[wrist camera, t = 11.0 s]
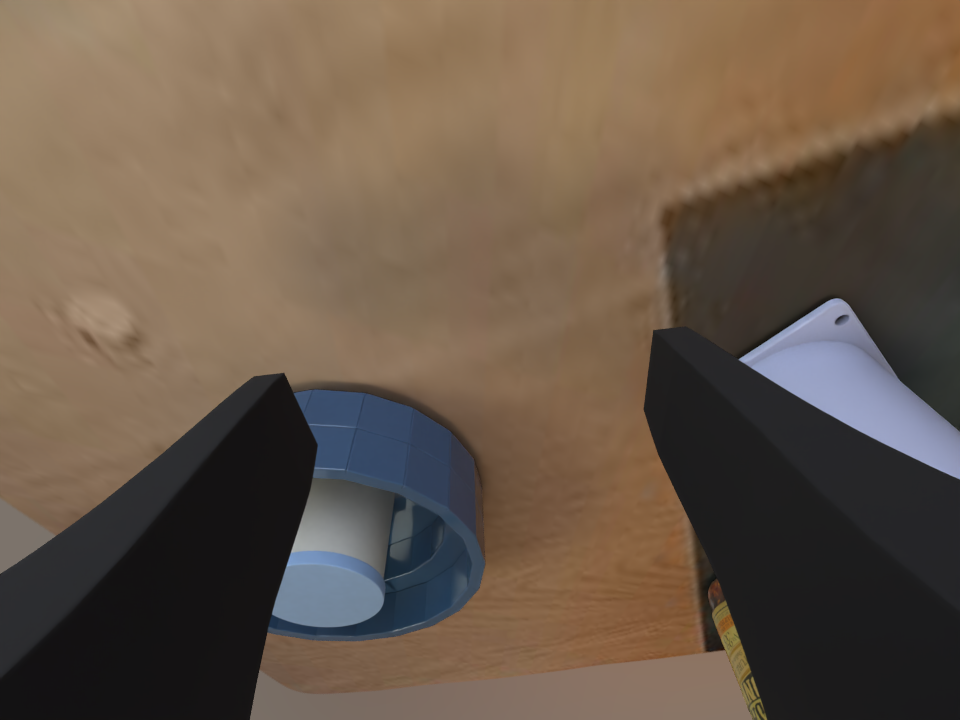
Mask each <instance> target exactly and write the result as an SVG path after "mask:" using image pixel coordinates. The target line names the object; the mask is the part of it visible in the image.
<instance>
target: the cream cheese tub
mask: <svg viewBox="0 0 960 720" xmlns="http://www.w3.org/2000/svg"><path fill="white" fill-rule="evenodd" d="M394 498H395V493H393V492H389V491H385V490H382V489H378V488H374V487H370V486H366V485H362V484H358V483H354V482H350V481H347V480H336V479H318V478H313V479H312V484H311V489H310V493H309V496H308V500H307V503H306V506H305V510H304V513H303V516H302V519H301V523H300V526H299V529H298V532H297V535H296V538H295V541H294V545H293V548H292V551H291V554H290V557H289V560H288V563H287V566H286V570H285V573H284V576H283V579H282V582H281V585H280V588H279V591H278V595H277V598H276V601H275V605H274V608H273V612H272V615H274V616H276V617H278V618H281V619H283V620H286V621H289V622H292V623H296V624H301V625H306V626H314V627H341V626H348V625H353V624H357V623H360V622H363V621H365V620H367V619H369V618H371V617H373V616H374V615H376V614H377V613H378V612H379V611H380V609H381V608H382V606H383V603H384V597H385V589H386V586H385V582H384V572H385V564H386V557H387V550H388V542H389V535H390V528H391V520H392V513H393V505H394Z"/></svg>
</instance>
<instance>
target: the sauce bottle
mask: <svg viewBox="0 0 960 720" xmlns="http://www.w3.org/2000/svg"><path fill="white" fill-rule="evenodd" d="M708 598H709V604H710V607H711V609H712V617H713V620H714V623H715V625H716V628H717V630H718V633H719V635H720V638H721V641H722V643H723V646H724V648H725V651H726V653H727V656H728V658H729V661H730V663H731V666H732V668H733V671H734V673H735V676H736V678H737V681H738V683H739V686H740V688H741V691H742V694H743V697H744V699H745V702H746V704H747V707H748V710H749V712H750V714H751V716H752V719H753V720H767V718H766V715H765V711H764V708H763V705H762V702H761V699H760V696H759V693H758V691H757V688H756V685H755V682H754V679H753V676H752V673H751V670H750V667H749V665H748V662H747V659H746V656H745V653H744V650H743V647H742V644H741V641H740V639H739V636H738V633H737V631H736V628H735V625H734V622H733V620H732V617H731V614H730V611H729V609H728V606H727V603H726V601H725V598H724V595H723V592H722V590H721V587H720V584H719V582H718V580H717V578H716V579H715V580H714V581H713V582H712V583H711V585H710V587H709V590H708Z"/></svg>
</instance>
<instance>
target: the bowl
mask: <svg viewBox="0 0 960 720" xmlns="http://www.w3.org/2000/svg"><path fill="white" fill-rule="evenodd" d="M294 395H295V397H296V399H297V401H298V404H299V406H300V408H301V410H302V412H303V414H304V416H305V418H306V421H307V423H308V425H309V427H310V429H311V431H312V433H313V435H314V438H315V440H316V442H317V444H318V447H317V454H316V461H315V467H314V473H313V478H318V479H336V480H347V481H350V482H354V483H358V484H362V485H366V486H370V487H374V488H378V489H382V490H385V491H389V492H393V493H395V498H394V505H393V513H392V520H391V528H390V535H389V542H388V550H387V557H386V564H385V572H384V582H385V586H386V589H385V597H384V603H383V606H382V608H381V609H380V611H379V612H378V613H377V614H376V615H374V616H373V617H371V618H369V619H367V620H365V621H363V622H360V623H357V624H353V625H348V626H341V627H314V626H306V625H301V624H296V623H292V622H289V621H286V620H283V619H281V618H278V617H276V616H274V615H272V616H271V619H270V623H269V627H268V631H267V632H268V633H271V634H277V635H283V636H289V637H296V638H302V639H308V640H318V641H364V640H372V639H380V638H388V637H396V636H400V635H403V634H407V633H410V632H413V631H417V630H420V629H423V628H427V627H430V626H433V625H435V624H437V623H439V622H440V621H442V620H444V619H446V618H447V617H449V616H451V615H453V614H455V613H456V612H458V611H460V610H461V609H462V608H463V606H464V605H465V604H466V603H467V602H468V601H469V600H470V599H471V598H472V596H473V595H474V594H475V593H476V592H477V591H478V590H479V588H480V584H481V580H482V576H483V572H484V568H485V542H484V522H483V521H484V519H483V497H482V484H481V481H480V478H479V474H478V471H477V467H476V464H475V461H474V459H473V457H472V456H471V455H470V454H469V452H468V451H467V450H466V449H465V448H464V446H463V445H462V444H461V443H460V442H459V441H458V439H457V438H456V437H455V436H454V435H453V433H452V432H450V430H448V429H446V428H445V427H443V426H442V425H440V424H438V423H437V422H435V421H434V420H432V419H430V418H429V417H427V416H426V415H424V414H422V413H421V412H419V411H417V410H416V409H413V408H412V407H409V406H406V405H403V404H400V403H397V402H393V401H390V400H387V399H384V398H381V397H377V396H374V395H371V394H368V393H366V394H365V393H360V392H347V391H333V390H319V389H314V390H306V391H300V392H294Z"/></svg>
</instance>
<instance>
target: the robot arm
mask: <svg viewBox="0 0 960 720" xmlns="http://www.w3.org/2000/svg"><path fill="white" fill-rule="evenodd" d="M840 316H841V317H840ZM838 317H840V318H839V319H837V318H838ZM836 319H837V320H836ZM644 412H645V415H646V418H647V422H648V425H649V428H650V431H651V434H652V437H653V440H654V443H655V446H656V449H657V452H658V455H659V457H660V459H661V461H662V463H663V466H664V468H665V470H666V472H667V474H668V476H669V478H670V480H671V482H672V485H673V487H674V489H675V491H676V493H677V495H678V497H679V499H680V501H681V503H682V505H683V507H684V509H685V511H686V514H687V516H688V518H689V520H690V522H691V524H692V526H693V528H694V530H695V532H696V534H697V536H698V538H699V540H700V542H701V545H702V547H703V549H704V551H705V553H706V555H707V557H708V559H709V561H710V564H711V566H712V568H713V571H714V573H715V575H716V577H717V580H718V582H719V584H720V587H721V590H722V592H723V595H724V598H725V601H726V603H727V606H728V609H729V611H730V614H731V617H732V620H733V622H734V625H735V628H736V631H737V633H738V636H739V639H740V641H741V644H742V647H743V650H744V653H745V656H746V659H747V662H748V665H749V667H750V670H751V673H752V676H753V679H754V682H755V685H756V688H757V691H758V693H759V696H760V699H761V702H762V705H763V708H764V711H765V715H766V718H767V720H960V432H959V431H958V430H957V429H956V428H955V427H954V426H952V425H951V424H950V423H949V422H948V421H947V420H945V419H944V418H943V417H942V416H941V415H939V414H938V413H937V412H936V411H935V410H934V409H932V408H931V407H930V406H929V405H928V404H927V403H925V402H924V401H923V400H922V399H921V398H919V397H918V396H917V395H916V394H915V393H914V392H912V391H911V390H910V389H909V388H908V387H907V386H905V385H904V384H903V383H902V382H901V381H900V380H899V379H898V377H897V376H896V374H895V373H894V371H893V370H892V368H891V367H890V365H889V364H888V362H887V361H886V359H885V358H884V356H883V355H882V353H881V352H880V350H879V349H878V347H877V346H876V344H875V343H874V342H873V340H872V339H871V337H870V336H869V334H868V333H867V331H866V330H865V328H864V327H863V325H862V324H861V322H860V321H859V319H858V318H857V316H856V315H855V313H854V312H853V310H852V309H851V307H850V306H849V305H848V304H847V303H846V302H845V301H843V300H842V299H838V298H836V299H831V300H829V301H827V302H826V303H824V304H823V305H821V306H820V307H818V308H816V309H815V310H813V311H812V312H810V313H809V314H807V315H806V316H804V317H803V318H801V319H800V320H798V321H797V322H795V323H794V324H792V325H790V326H789V327H787V328H786V329H784V330H783V331H781V332H780V333H778V334H777V335H775V336H774V337H772V338H771V339H769V340H768V341H766V342H764V343H763V344H761V345H760V346H758V347H757V348H755V349H754V350H752V351H751V352H749V353H748V354H746V355H745V356H743V357H742V358H740V359H737V358H735V357H734V356H732V355H731V354H729V353H728V352H726V351H725V350H723V349H721V348H720V347H718V346H717V345H715V344H714V343H712V342H711V341H709V340H708V339H706V338H704V337H703V336H701V335H700V334H698V333H696V332H695V331H693V330H691V329H689V328H688V327H678V328H669V329H660V330H653V338H652V346H651V354H650V362H649V371H648V379H647V387H646V395H645V403H644ZM317 447H318V444H317V442H316V440H315V438H314V435H313V433H312V431H311V429H310V427H309V425H308V423H307V421H306V418H305V416H304V414H303V412H302V410H301V408H300V406H299V404H298V401H297V399H296V397H295V395H294V393H293V391H292V389H291V387H290V385H289V382H288V380H287V378H286V376H285V374H284V373H280V374H271V375H263V376H254V377H253V378H251V379H250V380H249V381H247V382H246V383H245V384H243V385H242V386H241V387H240V388H238V389H237V390H236V391H235V392H234V393H232V394H231V395H230V396H229V397H228V398H226V399H225V400H224V401H223V402H222V403H221V404H219V405H218V406H217V407H216V408H215V409H214V410H212V411H211V412H210V413H209V414H208V415H207V416H206V417H204V418H203V419H202V420H201V421H200V422H199V423H197V424H196V425H195V426H194V427H193V428H192V429H190V430H189V431H188V432H187V433H186V434H185V435H184V436H182V437H181V438H180V439H179V440H178V441H177V442H175V443H174V444H173V445H172V446H171V447H170V448H168V449H167V450H166V451H165V452H164V453H163V454H161V455H160V456H159V457H158V458H157V459H155V460H154V461H153V462H152V463H150V464H149V465H148V466H147V467H145V468H144V469H143V470H142V471H140V472H139V473H138V474H137V475H135V476H134V477H133V478H132V479H131V480H129V481H128V482H127V483H126V484H124V485H123V486H122V487H121V488H119V489H118V490H117V491H116V492H114V493H113V494H112V495H111V496H109V497H108V498H107V499H106V500H104V501H103V502H102V503H101V504H99V505H98V506H97V507H95V508H94V509H93V510H91V511H90V512H89V513H87V514H86V515H85V516H83V517H82V518H81V519H79V520H78V521H76V522H75V523H74V524H72V525H71V526H70V527H68V528H67V529H65V530H64V531H63V532H61V533H60V534H58V535H57V536H55V537H54V538H53V539H52V540H50V541H48V542H47V543H46V544H44V545H43V546H41V547H40V548H38V549H37V550H36V551H34V552H33V553H31V554H30V555H28V556H27V557H26V558H24V559H22V560H21V561H20V562H18V563H17V564H15V565H14V566H12V567H10V568H9V569H7V570H6V571H4V572H3V573H1V574H0V720H250V715H251V710H252V704H253V699H254V693H255V688H256V683H257V678H258V673H259V669H260V664H261V659H262V655H263V650H264V645H265V641H266V636H267V631H268V627H269V623H270V619H271V616H272V612H273V608H274V605H275V601H276V598H277V595H278V591H279V588H280V585H281V582H282V579H283V576H284V573H285V570H286V566H287V563H288V560H289V557H290V554H291V551H292V548H293V545H294V541H295V538H296V535H297V532H298V529H299V526H300V523H301V519H302V516H303V513H304V510H305V506H306V503H307V500H308V496H309V493H310V489H311V484H312V479H313V473H314V467H315V461H316V454H317Z"/></svg>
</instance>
